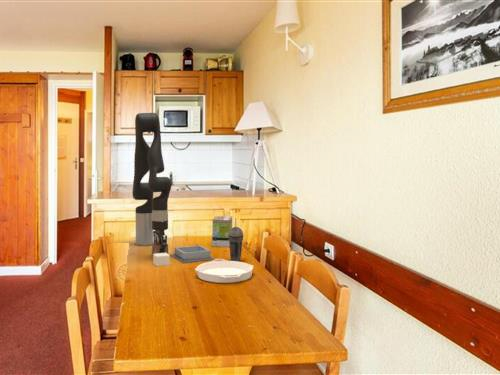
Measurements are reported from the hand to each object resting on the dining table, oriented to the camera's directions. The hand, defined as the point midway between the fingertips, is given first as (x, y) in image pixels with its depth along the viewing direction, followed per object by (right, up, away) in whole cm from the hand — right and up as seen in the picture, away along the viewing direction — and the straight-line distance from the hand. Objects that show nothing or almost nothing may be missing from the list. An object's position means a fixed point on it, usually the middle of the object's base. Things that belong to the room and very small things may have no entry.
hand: (160, 254), depth 209 cm
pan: (+32, -5, -29) cm, 43 cm away
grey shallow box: (+15, -2, +1) cm, 15 cm away
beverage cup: (+36, -2, -3) cm, 36 cm away
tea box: (+27, 0, +33) cm, 43 cm away
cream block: (+3, -3, -12) cm, 13 cm away
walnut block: (0, -1, 0) cm, 1 cm away
